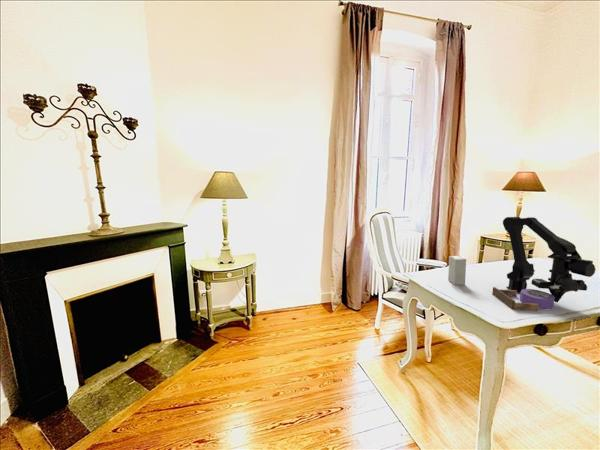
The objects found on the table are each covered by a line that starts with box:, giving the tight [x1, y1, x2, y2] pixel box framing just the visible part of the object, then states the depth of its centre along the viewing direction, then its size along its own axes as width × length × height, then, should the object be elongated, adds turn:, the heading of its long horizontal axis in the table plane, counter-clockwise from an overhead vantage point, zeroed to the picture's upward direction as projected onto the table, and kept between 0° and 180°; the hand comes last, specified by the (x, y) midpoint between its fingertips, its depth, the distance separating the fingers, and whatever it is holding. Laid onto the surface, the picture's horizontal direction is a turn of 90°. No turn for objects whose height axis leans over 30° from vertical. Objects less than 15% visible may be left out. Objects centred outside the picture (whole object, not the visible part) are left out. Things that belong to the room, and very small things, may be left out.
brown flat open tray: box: [491, 286, 540, 312], centre depth 124 cm, size 10×16×4 cm, turn 170°
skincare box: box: [447, 255, 467, 286], centre depth 149 cm, size 8×6×15 cm
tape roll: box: [519, 288, 555, 310], centre depth 122 cm, size 12×12×5 cm
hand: (555, 301), depth 121 cm, fingers closed
